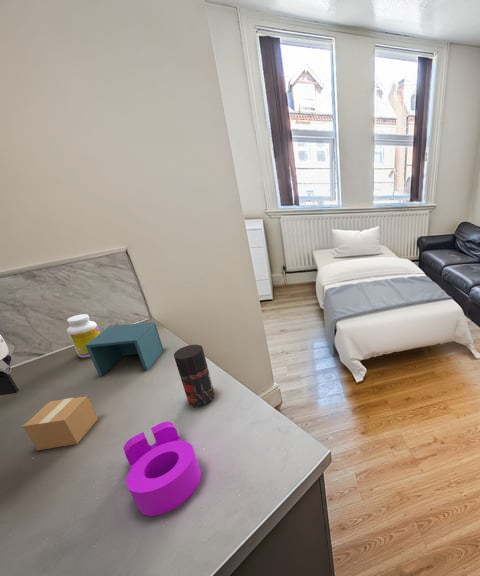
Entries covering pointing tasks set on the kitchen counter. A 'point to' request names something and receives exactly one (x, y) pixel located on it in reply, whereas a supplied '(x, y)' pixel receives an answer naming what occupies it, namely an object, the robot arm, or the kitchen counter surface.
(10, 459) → the kitchen counter surface
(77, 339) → the supplement bottle
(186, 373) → the deodorant
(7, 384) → the robot arm
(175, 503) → the magenta ring bracket
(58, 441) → the box
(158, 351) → the shelf
